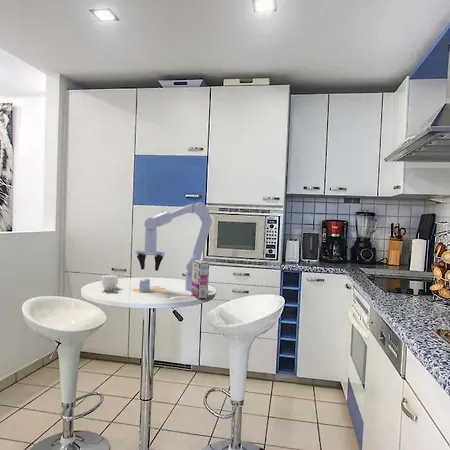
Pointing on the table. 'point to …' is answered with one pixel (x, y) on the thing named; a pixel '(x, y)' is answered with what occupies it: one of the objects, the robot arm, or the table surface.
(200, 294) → the candy bar box
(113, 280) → the cup
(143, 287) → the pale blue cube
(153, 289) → the post board
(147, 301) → the table surface
